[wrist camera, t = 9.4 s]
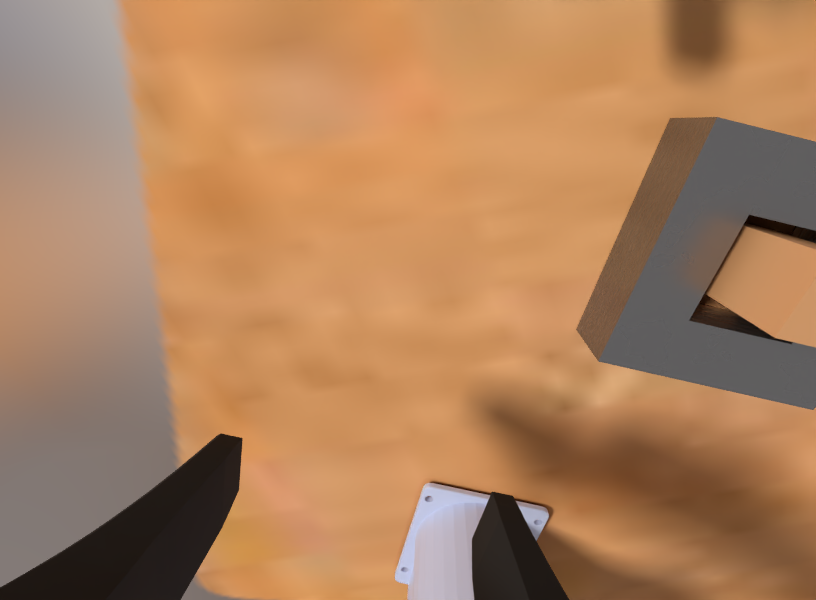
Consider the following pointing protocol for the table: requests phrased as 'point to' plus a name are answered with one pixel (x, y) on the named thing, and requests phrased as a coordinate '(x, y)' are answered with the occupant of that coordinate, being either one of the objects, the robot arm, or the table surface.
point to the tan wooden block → (770, 283)
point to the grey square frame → (704, 261)
